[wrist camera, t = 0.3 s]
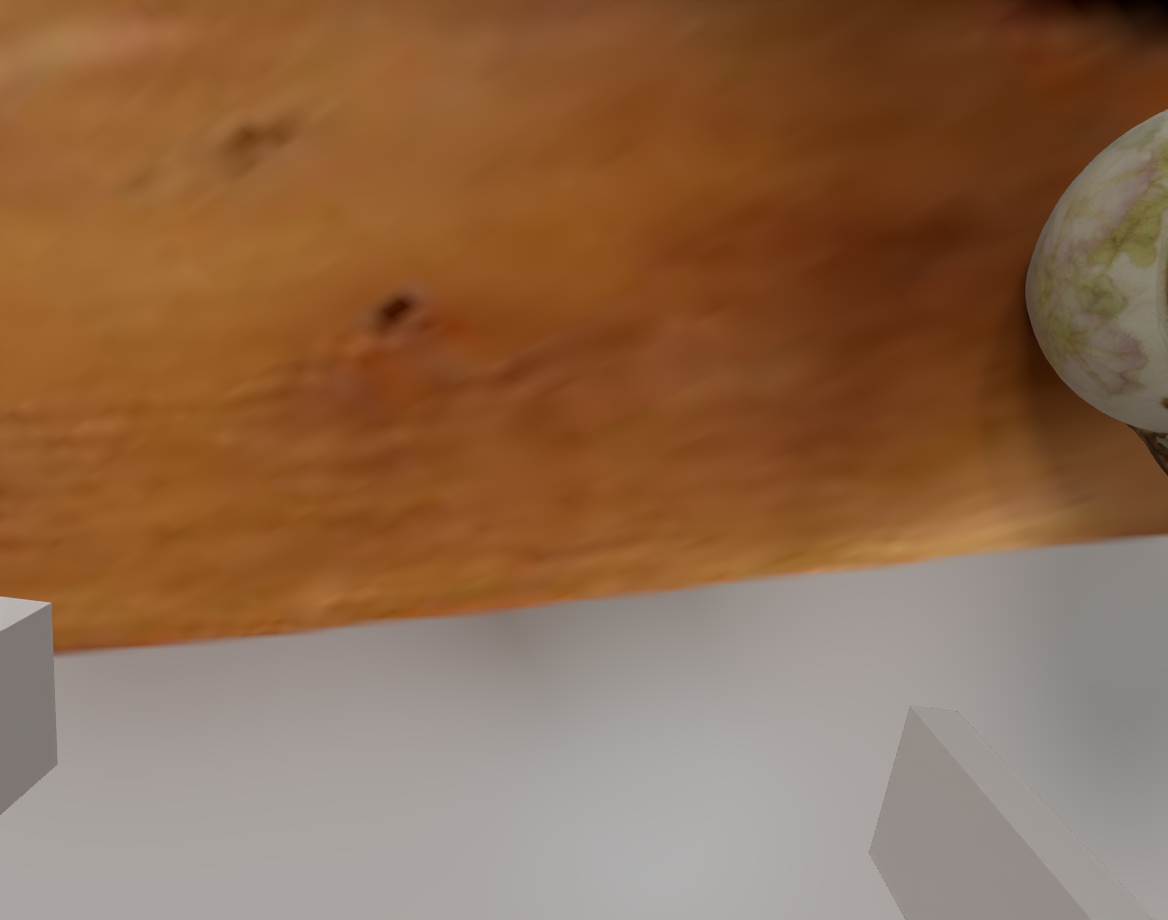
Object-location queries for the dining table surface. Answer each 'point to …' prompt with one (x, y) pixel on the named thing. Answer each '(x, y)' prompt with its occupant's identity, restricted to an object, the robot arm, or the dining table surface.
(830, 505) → the dining table surface
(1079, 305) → the sugar bowl
